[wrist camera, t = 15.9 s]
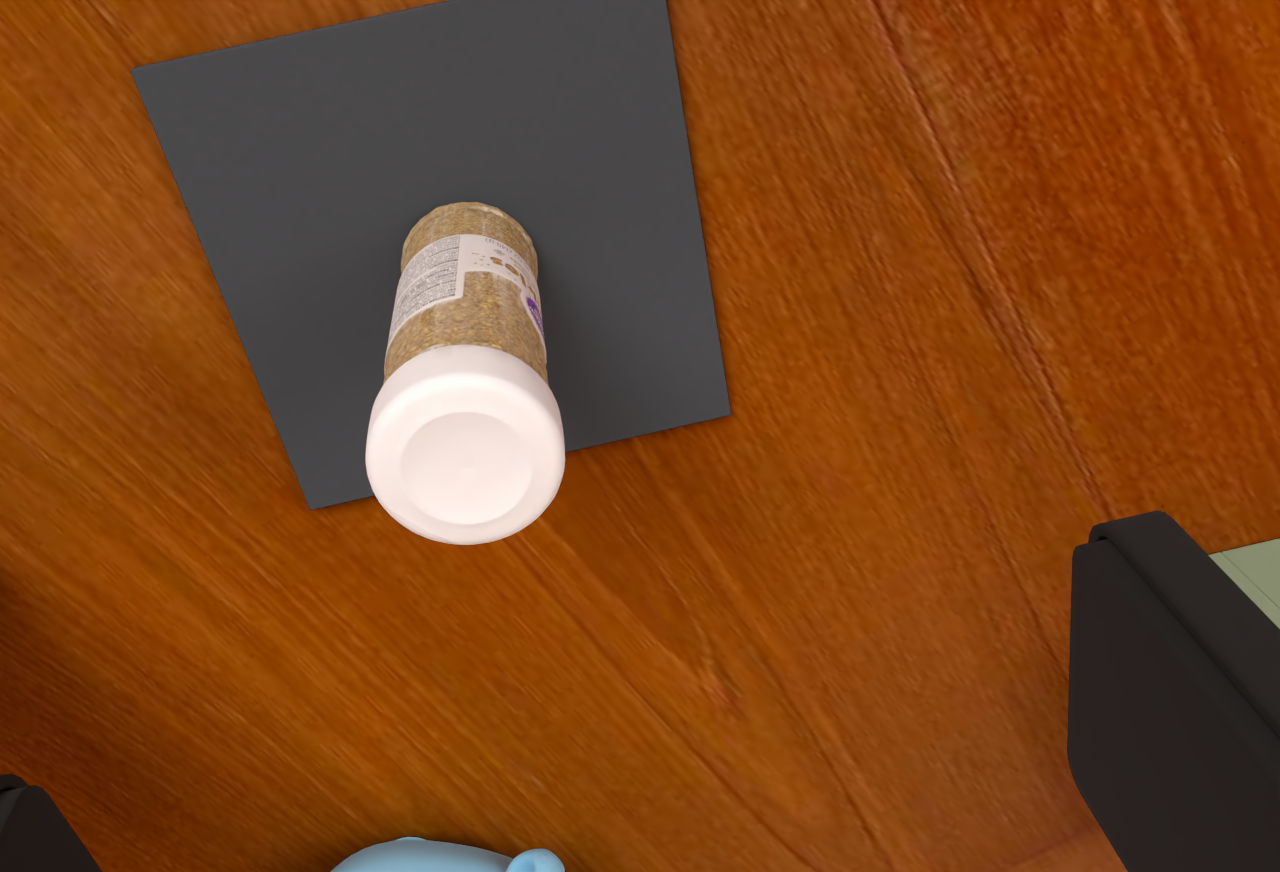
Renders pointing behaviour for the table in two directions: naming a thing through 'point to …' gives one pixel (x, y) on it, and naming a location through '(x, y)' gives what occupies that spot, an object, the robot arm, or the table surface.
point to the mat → (437, 176)
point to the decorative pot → (444, 858)
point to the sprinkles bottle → (466, 384)
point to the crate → (1255, 574)
